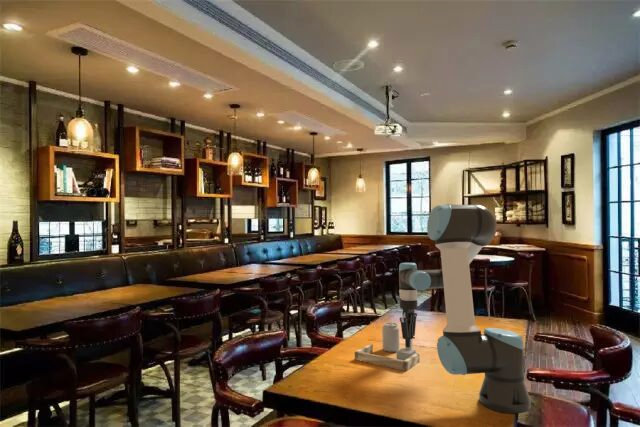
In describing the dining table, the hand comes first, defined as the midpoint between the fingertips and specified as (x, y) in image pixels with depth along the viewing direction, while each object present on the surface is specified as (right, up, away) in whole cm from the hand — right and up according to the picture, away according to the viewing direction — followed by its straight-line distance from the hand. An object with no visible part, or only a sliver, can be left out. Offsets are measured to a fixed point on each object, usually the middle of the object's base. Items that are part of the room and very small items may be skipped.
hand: (409, 354), depth 183 cm
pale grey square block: (-2, -2, -3) cm, 4 cm away
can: (-6, -2, +11) cm, 12 cm away
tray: (-10, -2, -4) cm, 11 cm away
